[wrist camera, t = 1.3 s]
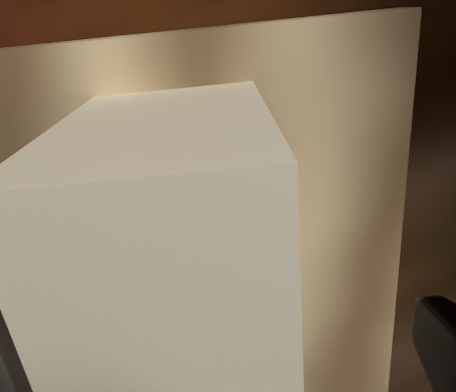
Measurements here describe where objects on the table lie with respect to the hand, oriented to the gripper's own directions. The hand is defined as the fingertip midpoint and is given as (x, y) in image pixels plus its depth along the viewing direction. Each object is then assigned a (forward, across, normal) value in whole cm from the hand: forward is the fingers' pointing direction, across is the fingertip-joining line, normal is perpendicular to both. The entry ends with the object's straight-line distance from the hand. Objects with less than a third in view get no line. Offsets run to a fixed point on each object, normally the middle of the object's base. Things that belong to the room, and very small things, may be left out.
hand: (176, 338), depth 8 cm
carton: (+6, 0, 0) cm, 6 cm away
